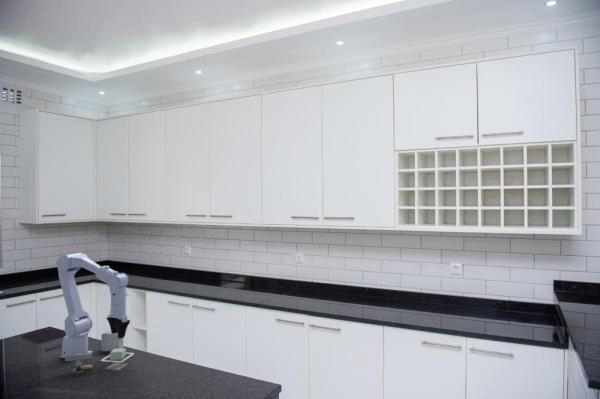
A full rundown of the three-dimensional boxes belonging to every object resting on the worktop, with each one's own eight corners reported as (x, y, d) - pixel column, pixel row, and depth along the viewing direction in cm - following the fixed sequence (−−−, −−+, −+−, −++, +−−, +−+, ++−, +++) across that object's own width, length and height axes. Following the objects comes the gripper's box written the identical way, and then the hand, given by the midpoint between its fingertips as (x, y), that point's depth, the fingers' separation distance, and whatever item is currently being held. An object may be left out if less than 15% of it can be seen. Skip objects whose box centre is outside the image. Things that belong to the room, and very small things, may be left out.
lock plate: (57, 376, 147) (58, 372, 147) (81, 363, 159) (81, 359, 159) (110, 380, 144) (110, 377, 144) (130, 366, 156) (130, 363, 156)
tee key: (64, 372, 147) (65, 356, 147) (66, 370, 149) (66, 354, 149) (91, 368, 150) (91, 353, 150) (92, 366, 152) (92, 352, 152)
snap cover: (109, 362, 159) (109, 352, 159) (113, 357, 164) (113, 348, 164) (122, 361, 160) (122, 352, 160) (125, 357, 165) (125, 347, 165)
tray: (100, 364, 158) (100, 360, 158) (114, 355, 168) (114, 351, 168) (121, 365, 157) (121, 362, 157) (134, 356, 166) (134, 353, 166)
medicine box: (123, 350, 174) (123, 330, 174) (119, 353, 169) (119, 334, 169) (105, 350, 173) (106, 330, 174) (101, 354, 169) (101, 334, 169)
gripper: (102, 301, 165) (101, 333, 165) (114, 308, 154) (114, 342, 154) (119, 298, 170) (118, 329, 170) (132, 305, 159) (132, 338, 159)
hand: (118, 335), depth 162 cm, fingers open, 7 cm apart
